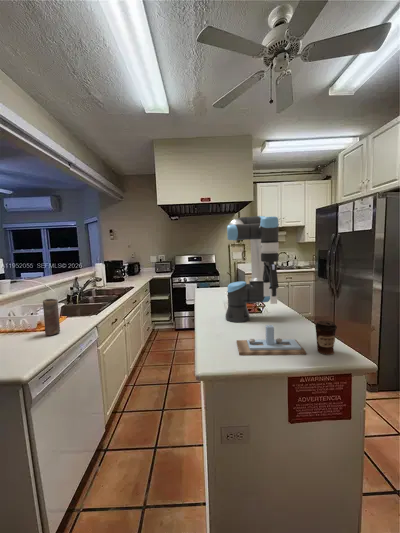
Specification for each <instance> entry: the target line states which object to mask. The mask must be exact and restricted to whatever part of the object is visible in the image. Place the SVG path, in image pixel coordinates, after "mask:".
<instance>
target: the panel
mask: <svg viewBox="0 0 400 533" xmlns="http://www.w3.org/2000/svg"><path fill="white" fill-rule="evenodd" d="M276 339H277V338H276ZM276 339H275V327H274V325H273V324H265V339H255V343H253V345H251V343H250V342H249V339H246V340H247V343H248V346H249V349H250V350H301V346H302V345H301V344H300V343H299V342H298V341H297V342H298V343H299V344H300V345H301V346H300V345H299V344H298V343H297V342H296V341H295V340H296V339H295V338H283V339H282V338H281V339H282V343H280V344H278V343H277V342H276ZM255 344H263V345H255ZM283 344H290V345H283Z"/></svg>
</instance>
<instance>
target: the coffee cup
mask: <svg viewBox="0 0 400 533" xmlns="http://www.w3.org/2000/svg"><path fill="white" fill-rule="evenodd" d="M314 327H315V335H316V336H315V338H316V348H317V352H318V353H320V354H322V355H326V356H330V355H334V354H335V351H334V350H335V349H334V346H335V342H336V331H337V330H338V329H337V328H338V326H337V325H336V322H334V321H331V320H319V321H317V322H316V323H315V325H314Z"/></svg>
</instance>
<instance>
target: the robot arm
mask: <svg viewBox="0 0 400 533" xmlns="http://www.w3.org/2000/svg"><path fill="white" fill-rule="evenodd" d="M226 227H227V228H226V229H227V232H226V233H227V235H226V236H227V240H228V241H245V240H246V241H247V240H248V241H249V242H250V263H251V269H250V270H251V279H249V283H247V282H246V281H240V280H239V281H234V282H230V283H229V284H228V285H227V291H226V292H227V310H226V312H225V315H224V316H225V320H226V321H228V322H231V323H244V322H247V321H250V320H251V319H250V317H251V316H250V313H249V310H248V307H247V306H248V305H247V303H249V304H251V303H268V302H270V303H269V304H270V305H275V304H276V305H277V304H278V288H279V280H278V271H277V270H278V269H277V268H278V267H277V264H275V262H276V263H277V262H279V257H280V256H279V248H280V247H279V227H280V226H279V217H277V216H265V215H262V216H261V215H258V216H256V215H255V216H239V217H238V218H237V217H236V218H235V219H232V220H231V221H230V222H229V224H228V225H227V226H226Z"/></svg>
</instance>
